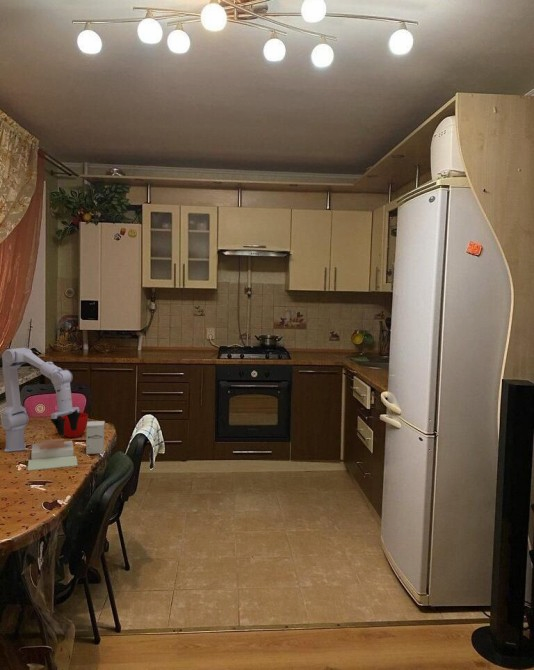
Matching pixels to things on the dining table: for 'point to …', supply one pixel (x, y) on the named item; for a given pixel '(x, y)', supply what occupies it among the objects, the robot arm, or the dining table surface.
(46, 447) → the tile
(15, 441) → the robot arm
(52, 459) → the mat
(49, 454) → the deck
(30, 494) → the dining table surface
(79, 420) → the ceramic cup
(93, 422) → the supplement box
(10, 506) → the dining table surface
